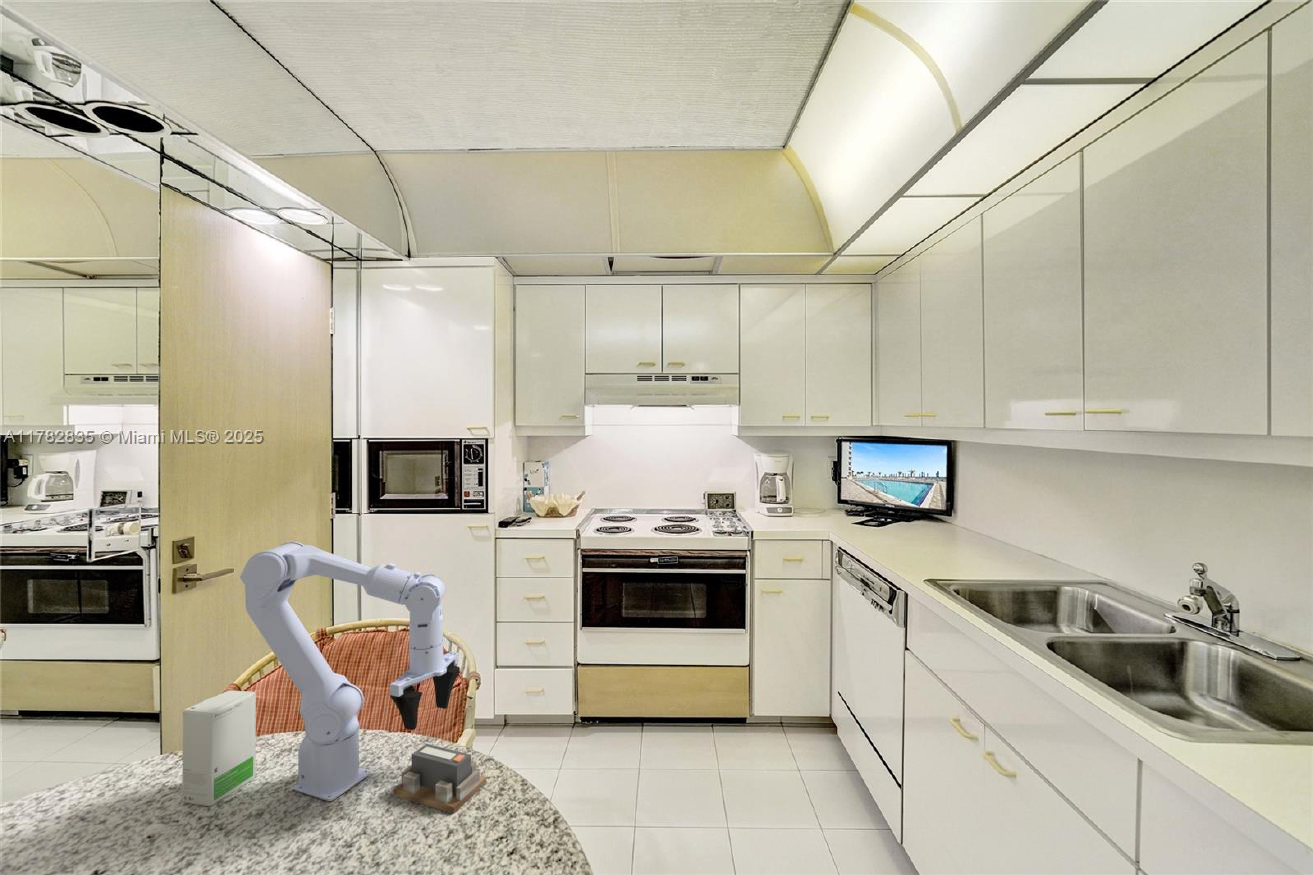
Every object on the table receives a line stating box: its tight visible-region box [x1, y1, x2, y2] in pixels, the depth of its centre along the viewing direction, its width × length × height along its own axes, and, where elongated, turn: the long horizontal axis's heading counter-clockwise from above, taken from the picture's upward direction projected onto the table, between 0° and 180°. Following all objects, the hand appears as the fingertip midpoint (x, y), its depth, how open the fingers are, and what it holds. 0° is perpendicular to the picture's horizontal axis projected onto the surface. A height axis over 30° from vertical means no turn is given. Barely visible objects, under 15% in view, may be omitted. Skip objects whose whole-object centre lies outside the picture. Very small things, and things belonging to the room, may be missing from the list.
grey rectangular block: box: [411, 743, 472, 796], centre depth 89 cm, size 10×3×5 cm, turn 70°
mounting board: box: [393, 760, 487, 814], centre depth 89 cm, size 13×8×4 cm, turn 70°
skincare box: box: [181, 690, 257, 807], centre depth 90 cm, size 8×7×16 cm
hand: (426, 717), depth 94 cm, fingers open, 7 cm apart
